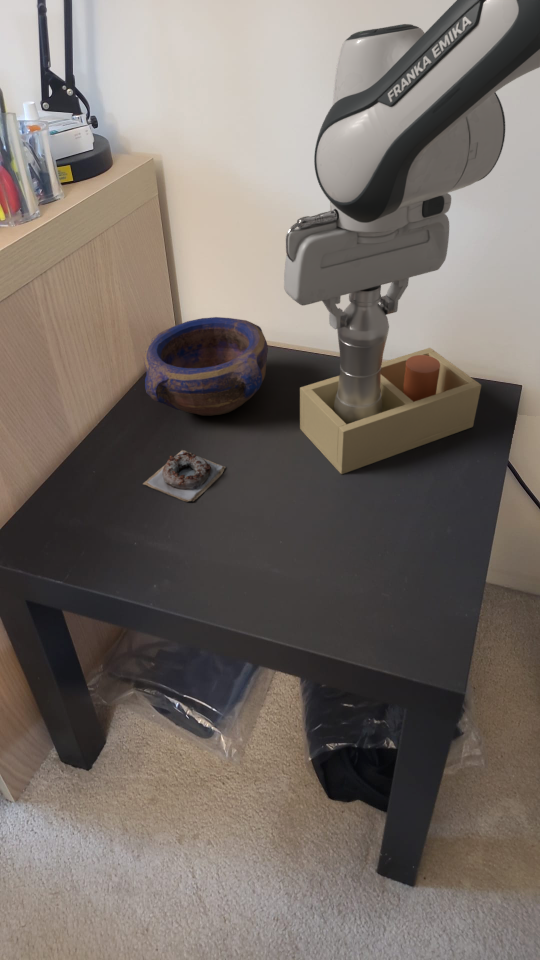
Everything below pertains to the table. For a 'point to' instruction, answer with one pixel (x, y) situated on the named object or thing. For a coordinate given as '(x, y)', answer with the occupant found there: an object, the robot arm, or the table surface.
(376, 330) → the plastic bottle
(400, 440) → the divided box
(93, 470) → the table surface
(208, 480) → the donut
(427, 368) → the orange cylinder
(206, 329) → the bowl
